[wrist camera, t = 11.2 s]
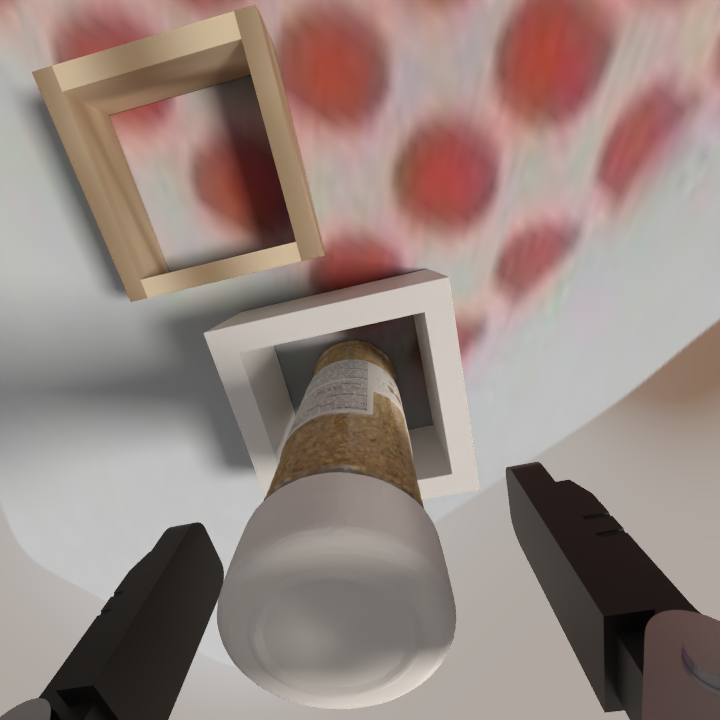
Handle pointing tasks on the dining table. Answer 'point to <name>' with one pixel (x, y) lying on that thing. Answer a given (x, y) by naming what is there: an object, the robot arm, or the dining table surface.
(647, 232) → the dining table surface
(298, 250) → the wooden square frame
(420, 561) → the sprinkles bottle
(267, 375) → the block
